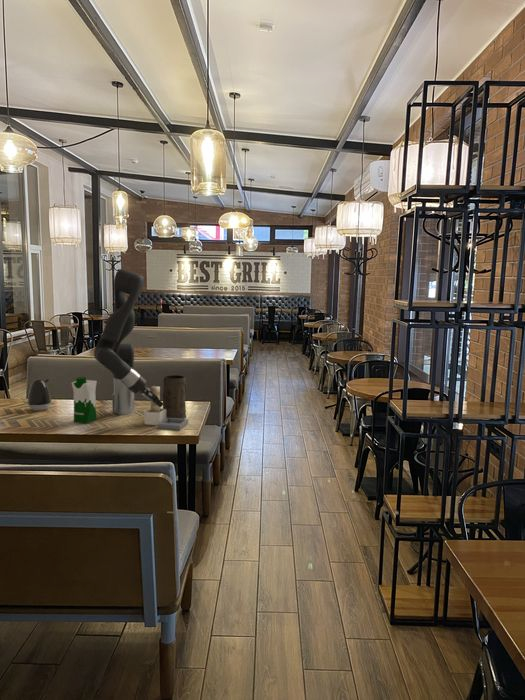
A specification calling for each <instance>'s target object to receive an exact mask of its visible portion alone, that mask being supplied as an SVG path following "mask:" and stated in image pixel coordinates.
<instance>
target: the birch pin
mask: <svg viewBox="0 0 525 700" xmlns="http://www.w3.org/2000/svg"><path fill="white" fill-rule="evenodd" d="M150 390H151V391H152V392H153V393H154V394H155V395H156V396H157V397H158V398H159V400H160V401H161V386H157V385H156V386H155V385H153V386H150ZM154 399H155V397H154ZM154 399H153V400H154ZM150 408H151V412H157V413H159V412H160V409H161V407H159V406H158V405H157V404H156V403H154V402H153V401H152V400H150Z"/></svg>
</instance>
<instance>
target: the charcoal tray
mask: <svg viewBox="0 0 525 700" xmlns="http://www.w3.org/2000/svg"><path fill="white" fill-rule="evenodd" d="M188 424H189V418H185V419H178V418H166V419H164V420H163V421H161V422H160V423H158V425H157V430H172V431H181V430H182V429H183V428H185V427H186V426H187V425H188Z"/></svg>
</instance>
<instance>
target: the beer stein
mask: <svg viewBox="0 0 525 700" xmlns="http://www.w3.org/2000/svg"><path fill="white" fill-rule="evenodd" d="M162 381H163V390H162V403H163V405H162V409H166V418H178V419H187V414H186V412H187V409H186V408H187V407H186V396H187V382H186V377H185V376H184V375H179V374H177V375H176V374H174V375H166V376H163V379H162Z"/></svg>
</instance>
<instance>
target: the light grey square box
mask: <svg viewBox="0 0 525 700" xmlns="http://www.w3.org/2000/svg"><path fill="white" fill-rule="evenodd" d="M143 412H144V414H143V415H144V425H149V426H151V425H152V426H158V423H160V422H161V421H163V420H164V419H166V409H163V408H160V412H159V413H157V412H151V407H150V408H148V409H147V410H145V411H143Z"/></svg>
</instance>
